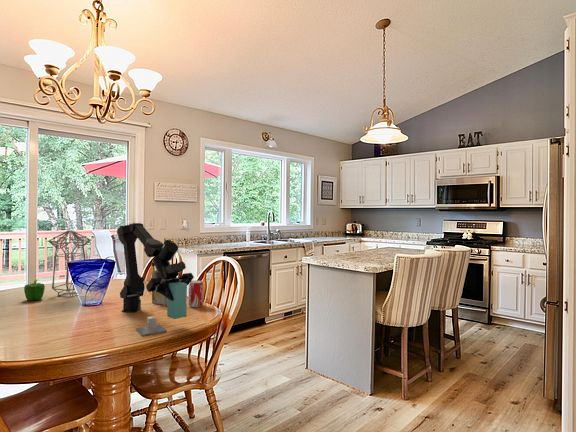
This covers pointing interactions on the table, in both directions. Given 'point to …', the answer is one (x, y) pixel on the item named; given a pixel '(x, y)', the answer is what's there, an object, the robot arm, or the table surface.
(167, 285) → the robot arm
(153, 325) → the post
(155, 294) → the coffee box
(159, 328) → the plate
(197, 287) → the soda can
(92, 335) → the table surface
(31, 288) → the bell pepper
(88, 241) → the geometric lantern
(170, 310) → the teal rectangular block
